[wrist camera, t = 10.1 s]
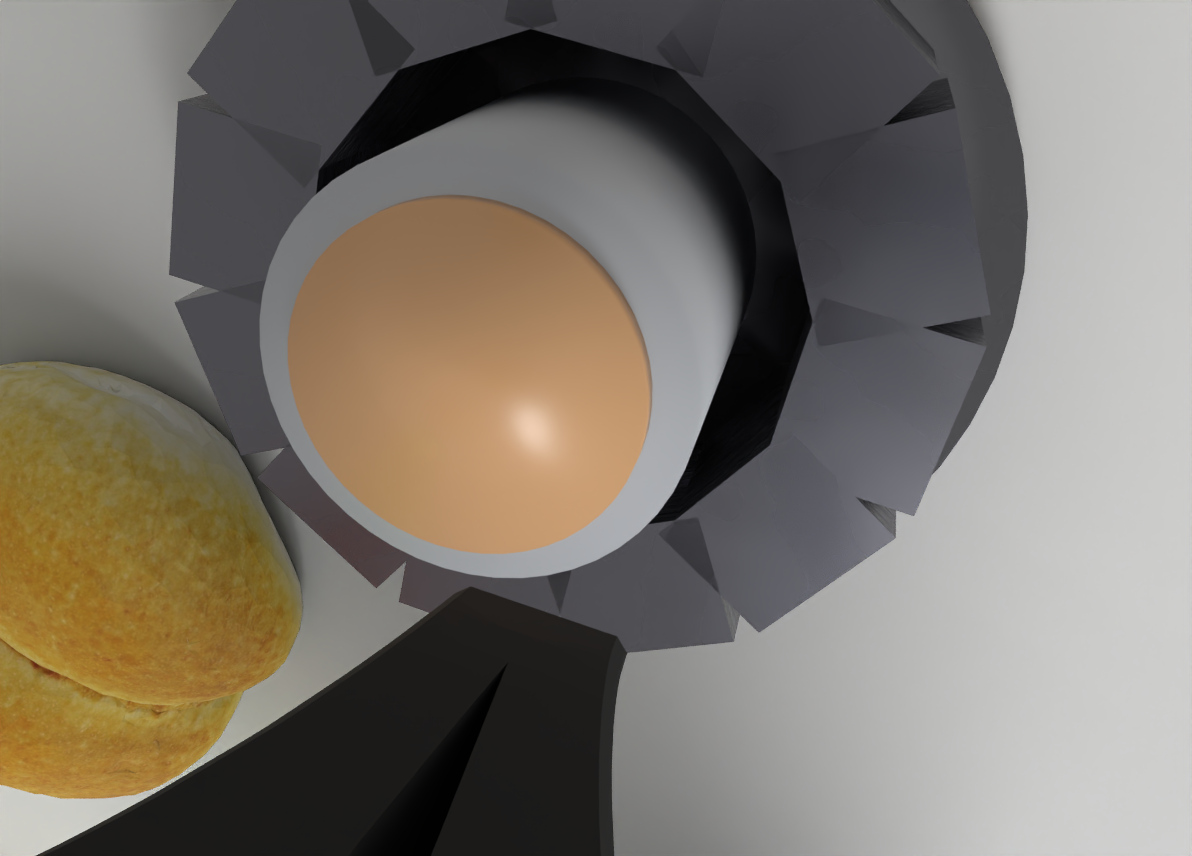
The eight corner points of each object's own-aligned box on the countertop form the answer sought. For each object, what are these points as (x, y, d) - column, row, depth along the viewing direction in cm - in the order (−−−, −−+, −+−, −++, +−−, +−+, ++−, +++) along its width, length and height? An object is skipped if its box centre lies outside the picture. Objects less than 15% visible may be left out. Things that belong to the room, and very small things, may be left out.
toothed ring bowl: (855, 675, 19) (847, 802, 16) (217, 455, 20) (111, 540, 18) (1183, -78, 14) (1254, -74, 11) (278, -307, 15) (139, -356, 12)
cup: (710, 446, 17) (640, 645, 13) (409, 360, 18) (237, 519, 13) (797, 124, 15) (749, 222, 10) (448, 39, 16) (256, 96, 11)
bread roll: (387, 533, 21) (281, 664, 17) (182, 781, 25) (63, 926, 21) (21, 242, 20) (-169, 315, 16) (-126, 548, 24) (-302, 658, 20)
